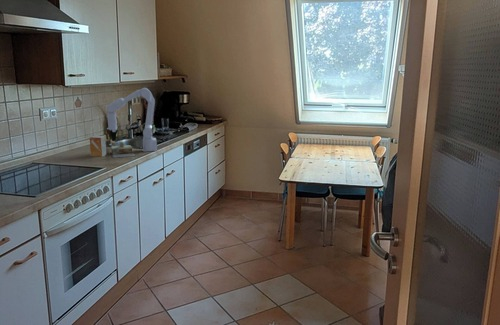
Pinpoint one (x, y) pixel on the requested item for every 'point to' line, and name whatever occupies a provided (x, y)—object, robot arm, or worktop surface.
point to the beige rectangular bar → (112, 142)
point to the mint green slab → (122, 146)
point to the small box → (98, 146)
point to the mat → (123, 155)
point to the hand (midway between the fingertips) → (113, 140)
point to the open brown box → (121, 151)
